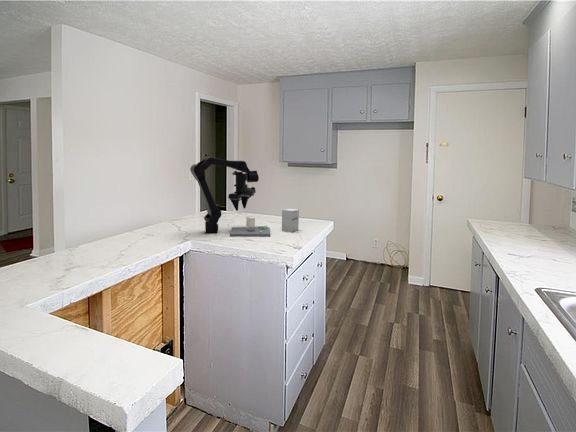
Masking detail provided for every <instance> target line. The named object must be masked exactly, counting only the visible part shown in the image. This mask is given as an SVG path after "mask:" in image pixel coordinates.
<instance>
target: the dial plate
mask: <svg viewBox="0 0 576 432" xmlns="http://www.w3.org/2000/svg"><path fill="white" fill-rule="evenodd" d="M259 226H262V225H259ZM229 237H231V238H232V237H233V238H234V237H237V238H238V237H243V238H244V237H249V238H250V237H252V238H253V237H255V238H257V237H260V238H261V237H262V238H263V237H267V238H268V237H271V227H269V226H267V227H254V231H247V226H234V227H231V230H230V232H229Z"/></svg>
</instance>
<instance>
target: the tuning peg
mask: <svg viewBox="0 0 576 432" xmlns="http://www.w3.org/2000/svg"><path fill="white" fill-rule="evenodd" d="M245 219H246V221H245V222H246V227H247V231H254V227H268V225H267V224H265V225H262V226H260V225H256V218H255V217H253V216H252V215H250V216H246V218H245Z"/></svg>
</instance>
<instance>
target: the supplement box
mask: <svg viewBox="0 0 576 432" xmlns="http://www.w3.org/2000/svg"><path fill="white" fill-rule="evenodd" d="M299 218H300V209H296V208H285V209H284V208H283V209H281V231H283V232H286V233H287V232H288V233H292V232H296V231H297V232H298V231H299Z"/></svg>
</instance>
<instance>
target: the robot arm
mask: <svg viewBox="0 0 576 432" xmlns="http://www.w3.org/2000/svg"><path fill="white" fill-rule="evenodd" d="M211 165H215V166H219V167H220V166H221V167H227V168H230V169H232V170H234V171H233V172H231V175H233V176H235V184H234V185H233V187H235V191H234V192H231V193H228V196H227V198H228V199H229V200H230V201H231V203H232V205H233V207H234V209H235V211H236V212H237V211H239V206H240V205H239V204H240V202H241V204H242V207H243V209H246V207H247V203H248V200H249V199H250V198H252V197H254V195H255V193H256V192H257V191H256V187H254V186H252V187H249V186H248V184H246V182H247V183H258V182H259V180H260V179H259V174H258V170H250V168H249V167H248V164H247V162H246V161H244V160H228V159H221V158H217V157H212V156H206V157H205V158H204V159H202V160H200V161H199V162H198V163H195V164H193V165H191V167H190V173H191V174H192V176H193V178H194V179H195V180H196V182H197V184H198V186H199V189H200V192H201V193H202V196H203V199H204V202H205V204H206V214H205V216H204V217H203V219H204V221H205V222H204V225H205V226H204V227H205V230H204V231H205V232H204V234H212V235H213V234H215V235H216V234H217V233H218V232H219V221H220V219H221V217H222V212H223V211H222V209H221V207H220V204H217V203H215V201H214V198H213V196H212V193H211V190H210V187H209V185H208V183H207V179H206V170H207V169H208V168H210V166H211Z"/></svg>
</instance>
